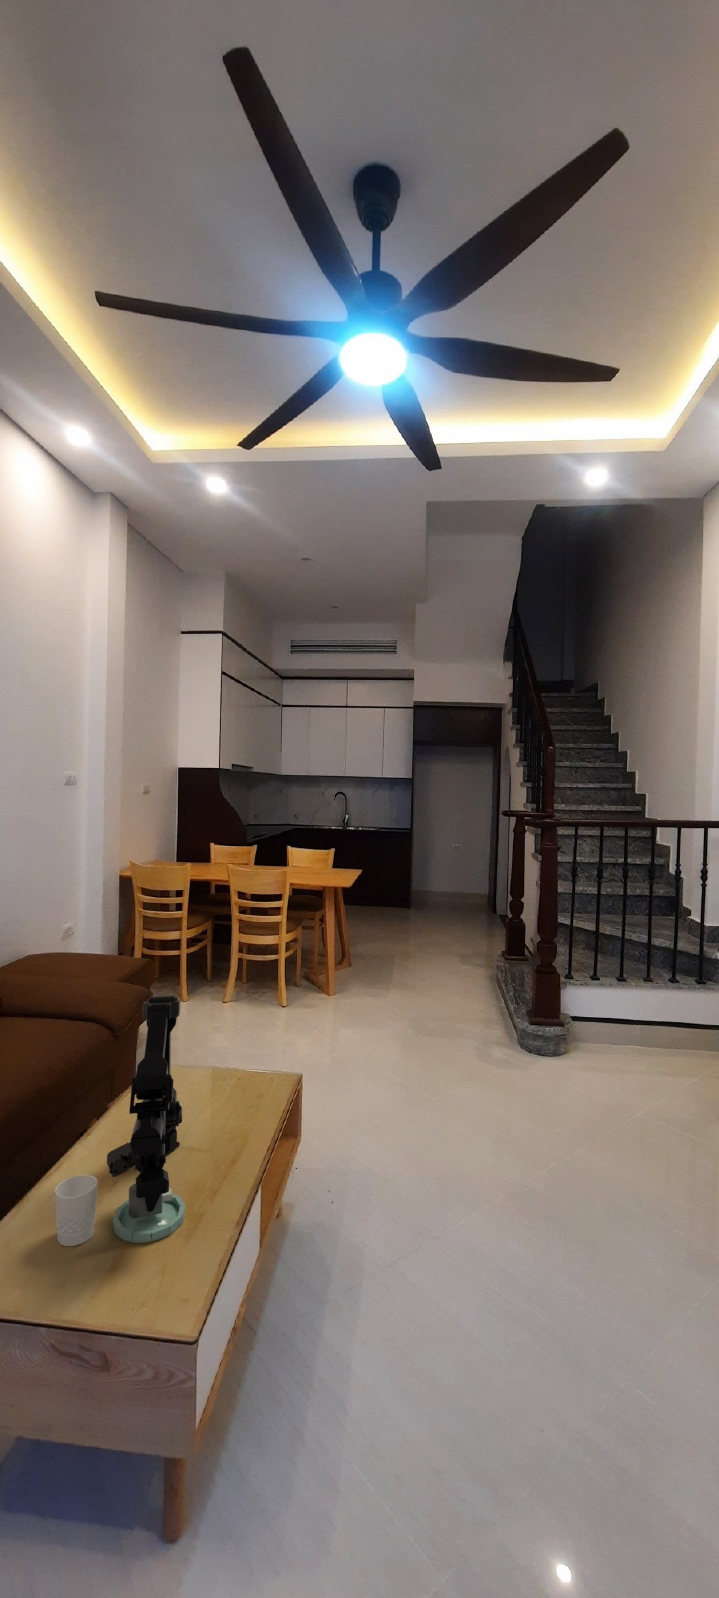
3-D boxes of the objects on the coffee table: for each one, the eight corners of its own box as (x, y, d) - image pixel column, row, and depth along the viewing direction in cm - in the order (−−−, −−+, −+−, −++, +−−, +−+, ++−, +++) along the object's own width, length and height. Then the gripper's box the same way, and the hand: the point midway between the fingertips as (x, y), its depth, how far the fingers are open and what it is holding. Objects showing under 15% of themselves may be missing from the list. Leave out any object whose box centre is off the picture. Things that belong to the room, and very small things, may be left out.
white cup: (105, 1228, 133) (106, 1179, 133) (77, 1253, 126) (77, 1201, 126) (74, 1219, 136) (75, 1171, 136) (45, 1243, 128) (45, 1193, 128)
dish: (98, 1230, 132) (98, 1222, 132) (147, 1193, 145) (147, 1185, 145) (152, 1251, 126) (152, 1242, 126) (198, 1210, 139) (198, 1202, 139)
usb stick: (128, 1220, 132) (129, 1195, 132) (128, 1208, 136) (128, 1184, 136) (171, 1211, 135) (172, 1187, 135) (170, 1200, 139) (170, 1176, 139)
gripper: (110, 1116, 142) (109, 1187, 142) (109, 1161, 124) (108, 1242, 124) (163, 1108, 146) (162, 1177, 146) (169, 1150, 128) (168, 1229, 128)
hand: (149, 1205), depth 136 cm, fingers closed on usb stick, 4 cm apart
